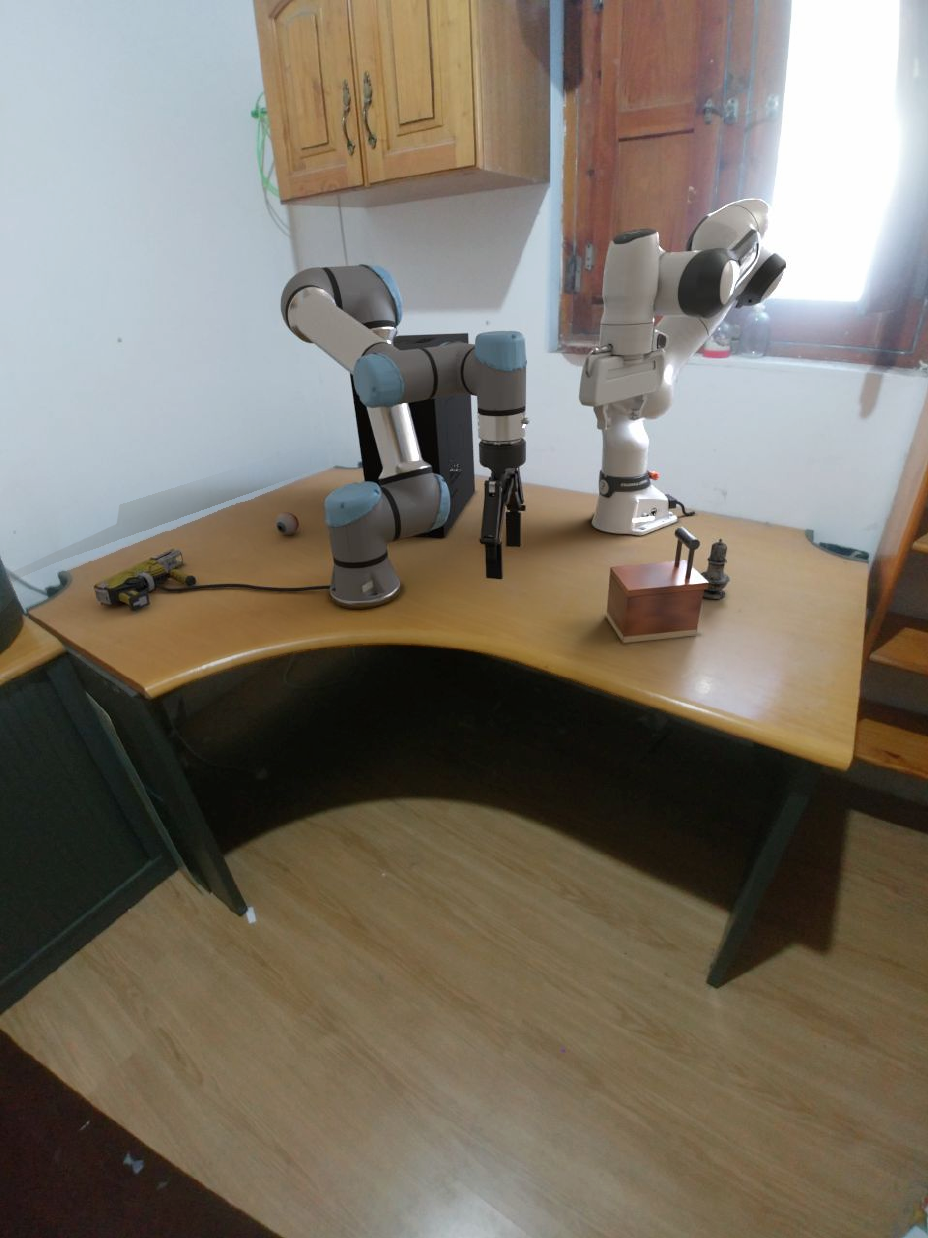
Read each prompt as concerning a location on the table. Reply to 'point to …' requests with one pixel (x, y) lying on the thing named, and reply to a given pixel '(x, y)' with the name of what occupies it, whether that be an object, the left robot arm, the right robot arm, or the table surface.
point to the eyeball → (287, 523)
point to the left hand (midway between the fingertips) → (504, 561)
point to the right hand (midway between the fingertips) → (619, 424)
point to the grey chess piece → (716, 571)
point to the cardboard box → (430, 435)
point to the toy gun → (141, 581)
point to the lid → (662, 572)
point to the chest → (653, 614)
